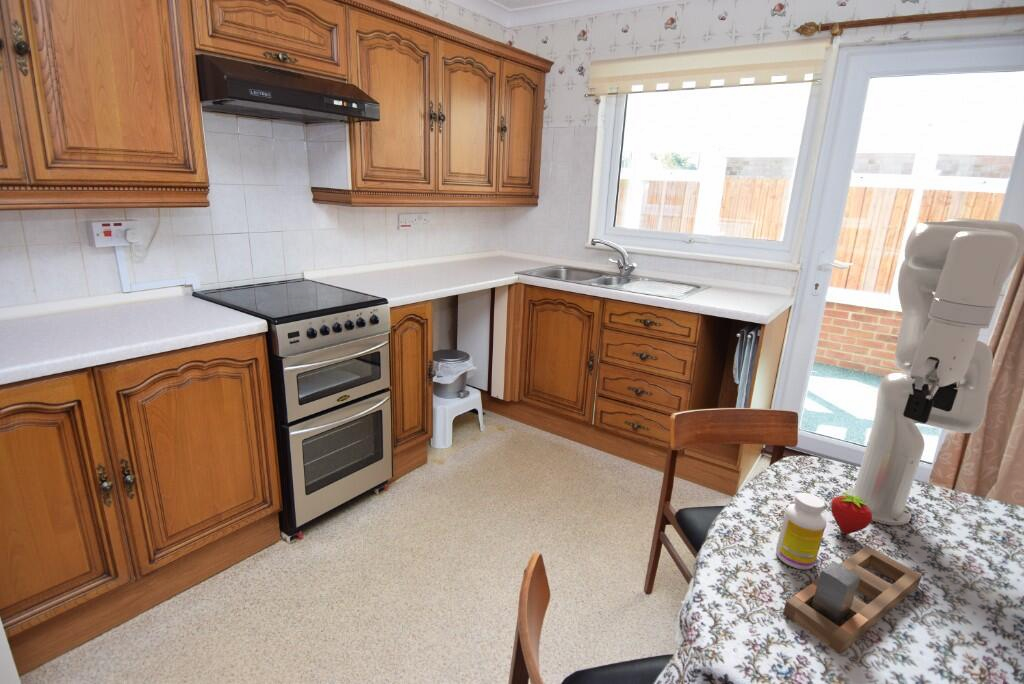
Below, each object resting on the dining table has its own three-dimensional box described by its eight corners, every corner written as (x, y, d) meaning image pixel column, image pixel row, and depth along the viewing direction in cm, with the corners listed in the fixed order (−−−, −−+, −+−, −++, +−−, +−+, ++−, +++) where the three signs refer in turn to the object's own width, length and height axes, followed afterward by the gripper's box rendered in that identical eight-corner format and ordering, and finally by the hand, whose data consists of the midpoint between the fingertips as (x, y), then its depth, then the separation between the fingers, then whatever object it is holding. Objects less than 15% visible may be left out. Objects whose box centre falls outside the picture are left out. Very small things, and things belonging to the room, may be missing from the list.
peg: (820, 605, 89) (834, 561, 86) (846, 622, 86) (860, 576, 83) (808, 615, 87) (821, 569, 84) (833, 632, 83) (848, 586, 81)
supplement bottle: (819, 574, 96) (837, 513, 93) (780, 567, 98) (796, 507, 94) (807, 550, 103) (823, 492, 99) (771, 544, 104) (785, 486, 100)
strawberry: (853, 548, 104) (867, 504, 101) (817, 526, 111) (829, 484, 108) (871, 541, 107) (885, 498, 104) (835, 519, 113) (847, 478, 110)
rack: (863, 556, 102) (867, 545, 101) (917, 586, 95) (922, 574, 94) (783, 613, 87) (786, 600, 86) (840, 654, 80) (844, 640, 79)
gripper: (952, 303, 90) (922, 396, 95) (908, 311, 81) (878, 414, 86) (1009, 314, 84) (974, 413, 89) (969, 324, 75) (932, 434, 80)
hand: (927, 413), depth 88 cm, fingers open, 9 cm apart
